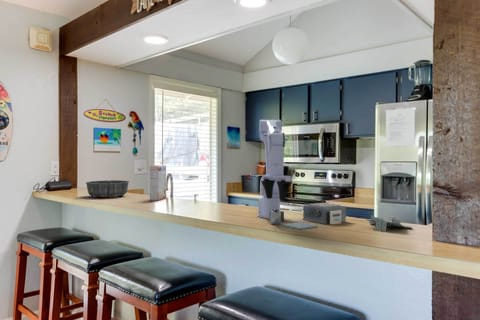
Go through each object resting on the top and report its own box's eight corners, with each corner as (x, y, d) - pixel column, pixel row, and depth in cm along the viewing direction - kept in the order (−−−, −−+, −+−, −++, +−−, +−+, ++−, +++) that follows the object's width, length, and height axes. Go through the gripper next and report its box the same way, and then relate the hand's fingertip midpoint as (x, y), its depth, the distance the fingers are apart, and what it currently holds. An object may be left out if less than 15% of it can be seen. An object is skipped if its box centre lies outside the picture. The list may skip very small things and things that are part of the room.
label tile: (329, 224, 139) (329, 211, 139) (339, 223, 143) (340, 210, 143) (331, 224, 139) (331, 211, 139) (341, 223, 142) (341, 210, 142)
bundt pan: (98, 200, 216) (98, 183, 216) (78, 196, 233) (78, 181, 233) (136, 197, 235) (137, 181, 235) (116, 194, 253) (116, 179, 253)
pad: (282, 225, 135) (282, 224, 135) (299, 223, 141) (299, 222, 141) (299, 229, 128) (299, 228, 128) (317, 227, 133) (317, 225, 133)
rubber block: (269, 221, 147) (269, 211, 147) (277, 220, 149) (277, 210, 149) (276, 222, 144) (276, 212, 144) (283, 221, 146) (283, 211, 146)
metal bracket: (403, 217, 123) (360, 213, 132) (402, 234, 122) (358, 229, 131) (413, 224, 134) (372, 219, 143) (412, 239, 132) (371, 234, 142)
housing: (302, 220, 149) (302, 204, 149) (323, 217, 156) (323, 202, 156) (324, 224, 139) (324, 207, 139) (345, 221, 147) (345, 205, 147)
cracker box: (157, 198, 228) (157, 165, 228) (166, 198, 227) (166, 165, 227) (148, 200, 214) (149, 165, 214) (158, 200, 213) (158, 165, 213)
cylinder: (268, 223, 140) (268, 209, 140) (276, 222, 142) (276, 208, 142) (275, 225, 137) (275, 210, 137) (282, 224, 139) (283, 209, 139)
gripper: (256, 163, 143) (256, 198, 143) (281, 164, 131) (280, 201, 131) (270, 163, 147) (269, 197, 147) (295, 164, 135) (294, 200, 135)
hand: (275, 199), depth 139 cm, fingers open, 7 cm apart
